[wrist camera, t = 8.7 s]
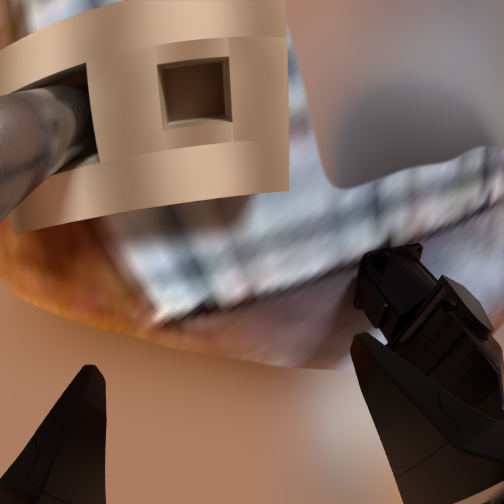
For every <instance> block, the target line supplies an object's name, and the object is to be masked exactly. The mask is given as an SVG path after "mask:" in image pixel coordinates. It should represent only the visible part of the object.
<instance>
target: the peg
mask: <svg viewBox="0 0 504 504" xmlns="http://www.w3.org/2000/svg"><path fill="white" fill-rule="evenodd" d="M95 141H96V137H95V131H94V125H93V119H92V112H91V104H90V96H89V87H88V84H84V83H76V84H66V85H58V86H51V87H44V88H38V89H32V90H26V91H21V92H16V93H12V94H7V95H3V96H0V223H1V222H2V221H3V220H4V219H5V218H6V217H7V216H8V215H9V214H10V213H11V212H12V211H13V210H14V209H15V208H16V207H17V206H18V205H19V204H20V203H21V202H22V201H23V200H24V199H25V198H26V197H27V196H28V195H29V194H30V193H32V192H33V191H34V190H35V189H36V188H37V187H38V186H39V185H41V184H42V183H43V182H44V181H45V180H46V179H48V178H49V177H50V176H51V175H52V174H54V173H55V172H56V171H57V170H58V169H60V168H61V167H62V166H63V165H65V164H66V163H67V162H68V161H70V160H71V159H72V158H74V157H75V156H76V155H78V154H79V153H80V152H82V151H83V150H84V149H86V148H87V147H89V146H90V145H91V144H93V143H94V142H95Z"/></svg>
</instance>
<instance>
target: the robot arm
mask: <svg viewBox="0 0 504 504" xmlns="http://www.w3.org/2000/svg"><path fill="white" fill-rule="evenodd" d="M422 251H423V246H422V245H421V244H420V243H417V244H411V245H405V246H399V247H393V248H387V249H381V250H374V251H370V252H368V253H367V254H366V255H365V258H364V262H363V267H362V272H361V276H360V279H359V283H358V288H357V292H356V296H355V302H354V307H355V309H356V310H362V309H363V311H364V312H365V314H366V316H367V317H368V319H369V320H370V322H371V323H372V325H373V327H374V328H376V329H378V328H379V329H380V330H381V332H382V333H383V335H384V337H385V338H386V340H387V342H388V343H387V344H386V345H384V344H382V343H381V342H380V341H378V340H377V339H376V338H374V337H373V336H372V335H370V334H369V333H367V332H362V333H357V334H356V335H355V336H354V339H353V342H352V345H351V348H350V354H351V358H352V361H353V364H354V368H355V371H356V375H357V378H358V382H359V385H360V389H361V391H362V394H363V397H364V399H365V402H366V404H367V406H368V409H369V412H370V414H371V416H372V419H373V422H374V424H375V426H376V429H377V432H378V434H379V437H380V440H381V442H382V445H383V447H384V450H385V453H386V456H387V458H388V461H389V464H390V466H391V469H392V472H393V475H394V477H395V481H396V484H397V486H398V489H399V492H400V495H401V498H402V501H403V504H504V361H503V354H502V349H501V346H500V345H499V344H498V342H497V341H496V340H495V339H494V338H493V336H492V335H491V334H492V333H493V332H494V328H493V326H492V324H491V322H490V320H489V318H488V316H487V315H486V313H485V311H484V309H483V307H482V305H481V304H480V302H479V301H478V300H477V299H476V298H475V297H474V296H473V295H472V294H471V293H470V292H469V291H468V290H467V289H466V288H465V287H464V286H463V285H461V284H459V283H457V282H455V281H454V280H452V279H450V278H448V277H446V276H444V275H442V276H441V277H440V278H439V280H437V279H436V278H435V277H434V276H433V275H432V273H431V272H430V271H429V270H428V269H427V268H426V267H425V266H424V265H423V264H422V263H421V262H420V258H421V254H422ZM371 256H372V257H371ZM370 257H371V258H370ZM106 422H107V419H106V383H105V379H104V377H103V375H102V374H101V372H100V371H99V369H98V368H97V367H96V366H95V365H84V366H83V367H82V369H81V370H80V371H79V373H78V374H77V375H76V376H75V378H74V379H73V381H72V382H71V383H70V384H69V386H68V387H67V389H66V390H65V391H64V392H63V394H62V395H61V397H60V398H59V399H58V401H57V402H56V403H55V405H54V406H53V408H52V409H51V410H50V412H49V413H48V415H47V416H46V418H45V419H44V420H43V422H42V423H41V425H40V426H39V428H38V429H37V430H36V432H35V434H34V435H33V437H32V438H31V439H30V441H29V442H28V444H27V445H26V447H25V448H24V449H23V451H22V452H21V453H20V455H19V456H18V457H17V459H16V460H15V461H14V462H13V464H12V465H11V466H10V467H9V468H8V470H7V471H6V472H5V473H4V475H3V476H2V477H1V478H0V504H106V494H105V445H106Z"/></svg>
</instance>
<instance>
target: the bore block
mask: <svg viewBox="0 0 504 504" xmlns="http://www.w3.org/2000/svg"><path fill="white" fill-rule="evenodd" d="M76 83H84V84H88V87H89V96H90V104H91V112H92V119H93V125H94V131H95V137H96V141H95V142H94V143H93V144H91V145H90V146H89V147H87V148H86V149H84V150H83V151H82V152H80V153H79V154H78V155H76V156H75V157H74V158H72V159H71V160H70V161H68V162H67V163H66V164H65V165H63V166H62V167H61V168H60V169H58V170H57V171H56V172H55V173H54V174H52V175H51V176H50V177H49V178H48V179H46V180H45V181H44V182H43V183H42V184H41V185H39V186H38V187H37V188H36V189H35V190H34V191H33V192H32V193H30V194H29V195H28V196H27V197H26V198H25V199H24V200H23V201H22V202H21V203H20V204H19V205H18V206H17V207H16V208H15V209H14V210H13V211H12V212H11V213H10V214H9V217H10V220H11V223H12V225H13V228H14V231H15V233H16V234H20V233H24V232H28V231H33V230H37V229H41V228H46V227H50V226H55V225H60V224H64V223H69V222H74V221H79V220H84V219H89V218H94V217H99V216H105V215H110V214H116V213H121V212H127V211H133V210H139V209H145V208H151V207H158V206H164V205H171V204H178V203H185V202H192V201H199V200H207V199H215V198H223V197H231V196H240V195H249V194H259V193H269V192H279V191H289V91H288V56H287V32H286V12H285V0H124V1H120V2H116V3H113V4H109V5H106V6H102V7H99V8H96V9H92V10H89V11H86V12H83V13H81V14H78V15H75V16H72V17H70V18H67V19H64V20H62V21H59V22H57V23H55V24H52V25H50V26H48V27H45V28H43V29H41V30H39V31H37V32H34V33H32V34H30V35H28V36H26V37H24V38H22V39H20V40H19V41H17V42H15V43H13V44H11V45H9V46H8V47H6V48H4V49H2V50H1V51H0V96H3V95H7V94H12V93H16V92H21V91H26V90H32V89H38V88H44V87H51V86H58V85H66V84H76Z"/></svg>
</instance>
